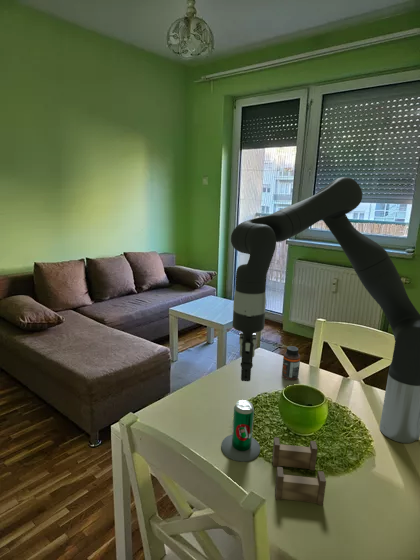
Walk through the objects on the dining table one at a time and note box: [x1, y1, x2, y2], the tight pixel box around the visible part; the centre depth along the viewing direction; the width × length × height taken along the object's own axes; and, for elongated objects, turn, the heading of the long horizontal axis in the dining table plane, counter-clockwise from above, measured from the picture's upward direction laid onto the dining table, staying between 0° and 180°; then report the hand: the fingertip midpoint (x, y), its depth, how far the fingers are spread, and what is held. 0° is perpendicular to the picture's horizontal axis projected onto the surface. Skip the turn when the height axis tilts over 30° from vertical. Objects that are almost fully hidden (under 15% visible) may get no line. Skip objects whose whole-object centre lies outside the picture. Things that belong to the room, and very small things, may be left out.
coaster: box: [221, 434, 261, 463], centre depth 94 cm, size 10×10×1 cm
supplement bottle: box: [281, 345, 301, 381], centre depth 131 cm, size 6×6×11 cm
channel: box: [271, 436, 327, 506], centre depth 83 cm, size 10×13×6 cm
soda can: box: [231, 399, 255, 451], centre depth 92 cm, size 5×5×12 cm
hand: (245, 371), depth 89 cm, fingers open, 8 cm apart
